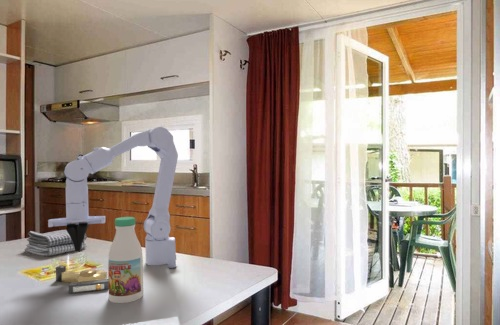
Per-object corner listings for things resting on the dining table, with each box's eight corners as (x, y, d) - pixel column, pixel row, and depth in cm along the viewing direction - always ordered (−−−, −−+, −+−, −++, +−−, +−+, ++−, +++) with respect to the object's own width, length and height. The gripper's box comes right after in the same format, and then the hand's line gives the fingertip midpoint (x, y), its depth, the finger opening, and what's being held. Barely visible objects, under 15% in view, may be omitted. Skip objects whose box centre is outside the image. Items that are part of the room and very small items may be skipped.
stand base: (130, 274, 102) (130, 263, 102) (127, 294, 87) (127, 280, 87) (70, 280, 97) (70, 268, 97) (56, 302, 82) (56, 288, 82)
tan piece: (112, 280, 93) (112, 267, 93) (93, 289, 86) (93, 275, 86) (67, 275, 97) (67, 262, 97) (46, 284, 91) (46, 270, 91)
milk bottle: (114, 296, 85) (113, 215, 85) (146, 295, 86) (145, 215, 86) (104, 309, 78) (102, 221, 77) (139, 308, 78) (137, 220, 78)
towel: (48, 258, 122) (48, 236, 122) (23, 251, 132) (22, 231, 132) (88, 249, 134) (88, 229, 134) (62, 243, 144) (62, 225, 144)
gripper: (44, 205, 92) (45, 256, 92) (103, 202, 96) (104, 251, 96) (51, 202, 99) (52, 249, 99) (105, 200, 103) (106, 245, 103)
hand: (78, 250), depth 98 cm, fingers closed
